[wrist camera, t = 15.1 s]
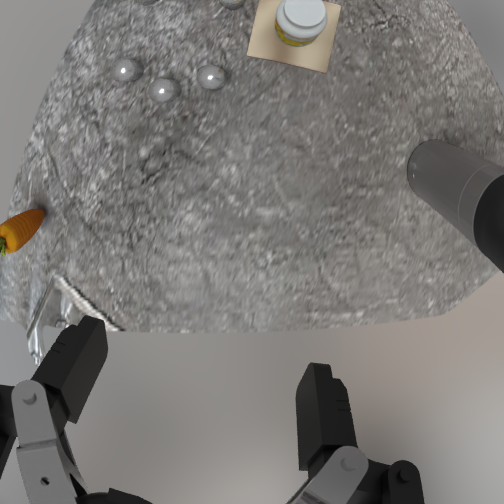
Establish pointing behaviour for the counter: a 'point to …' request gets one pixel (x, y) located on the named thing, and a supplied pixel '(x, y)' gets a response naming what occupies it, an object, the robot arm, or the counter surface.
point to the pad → (274, 49)
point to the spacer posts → (166, 87)
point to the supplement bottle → (300, 21)
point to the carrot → (19, 230)
